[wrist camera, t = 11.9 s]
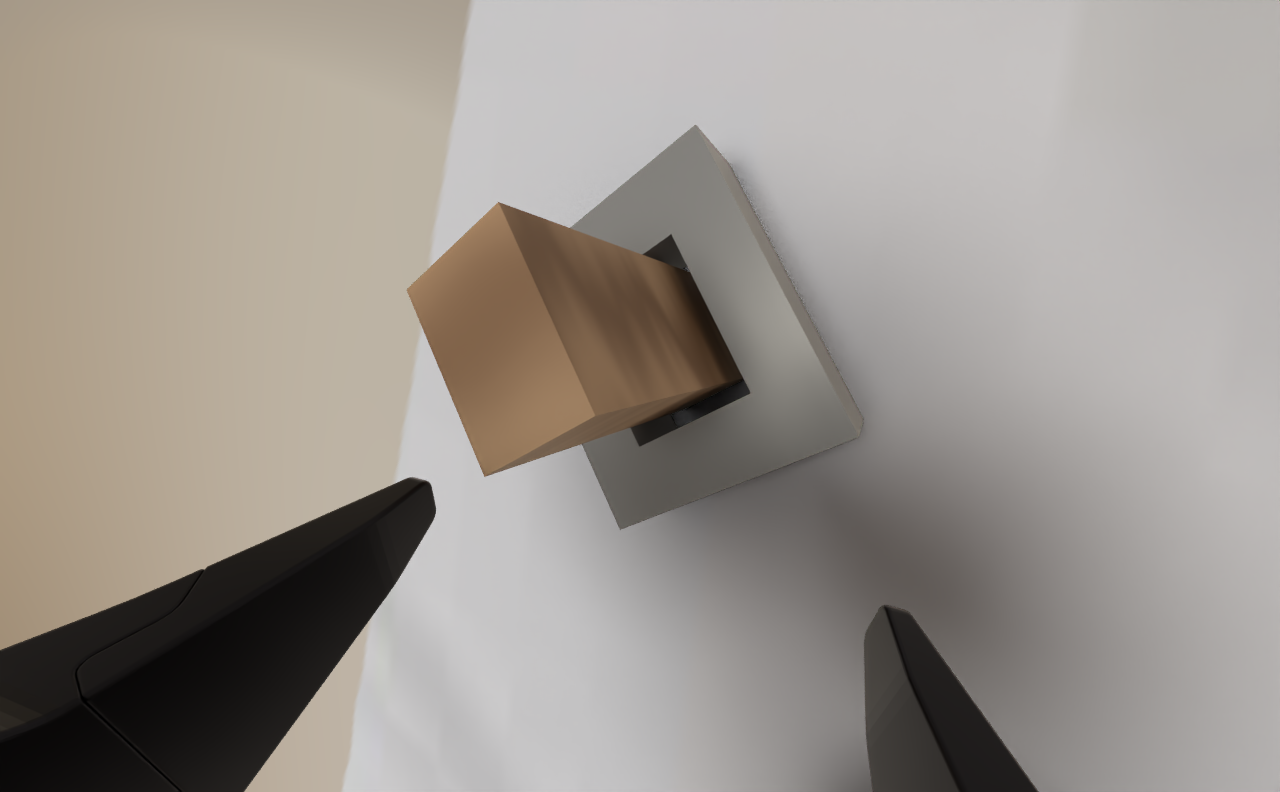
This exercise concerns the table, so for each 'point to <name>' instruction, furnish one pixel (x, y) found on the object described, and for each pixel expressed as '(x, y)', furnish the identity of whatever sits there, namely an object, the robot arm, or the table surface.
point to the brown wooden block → (562, 337)
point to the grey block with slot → (750, 325)
